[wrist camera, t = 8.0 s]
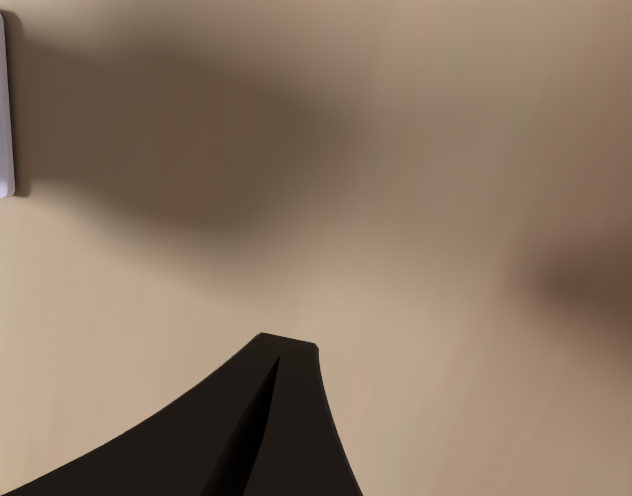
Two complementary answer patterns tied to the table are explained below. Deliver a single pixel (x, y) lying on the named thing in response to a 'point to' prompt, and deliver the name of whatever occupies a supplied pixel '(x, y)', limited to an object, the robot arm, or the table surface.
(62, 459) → the table surface
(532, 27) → the table surface
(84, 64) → the table surface
